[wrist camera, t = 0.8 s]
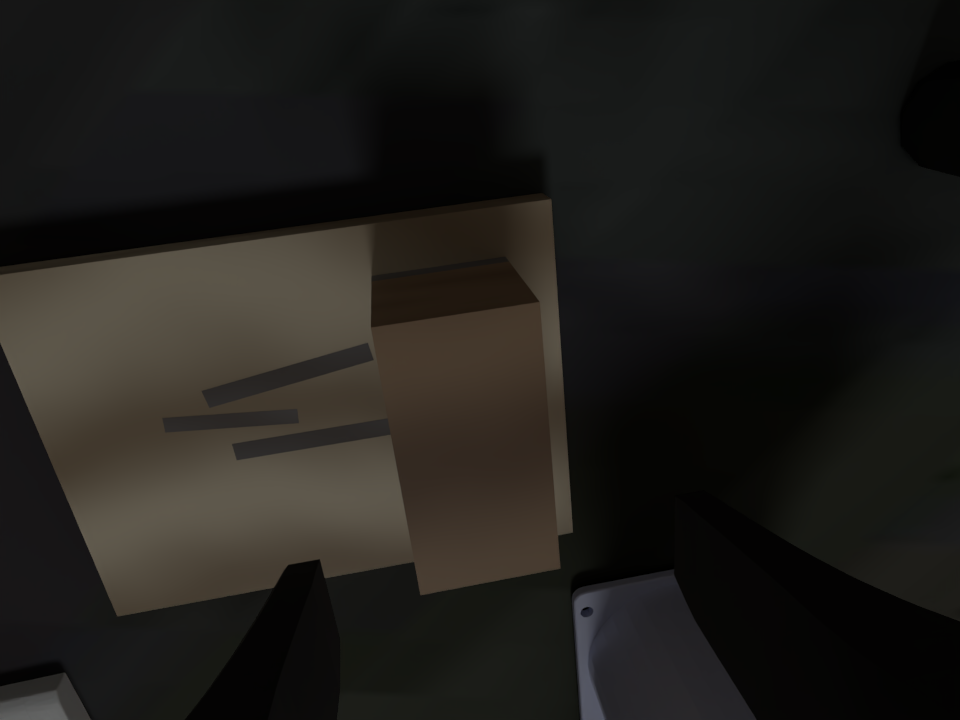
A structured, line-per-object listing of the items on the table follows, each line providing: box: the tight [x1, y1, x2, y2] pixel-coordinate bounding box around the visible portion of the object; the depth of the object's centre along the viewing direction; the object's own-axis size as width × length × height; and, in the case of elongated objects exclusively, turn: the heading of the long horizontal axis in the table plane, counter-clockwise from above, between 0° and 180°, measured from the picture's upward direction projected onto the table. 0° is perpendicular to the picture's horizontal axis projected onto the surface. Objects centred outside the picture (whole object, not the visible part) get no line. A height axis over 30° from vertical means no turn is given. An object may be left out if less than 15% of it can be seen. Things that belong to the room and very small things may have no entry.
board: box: [0, 193, 573, 616], centre depth 22 cm, size 12×16×1 cm
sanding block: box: [371, 257, 560, 595], centre depth 19 cm, size 8×4×4 cm, turn 6°
